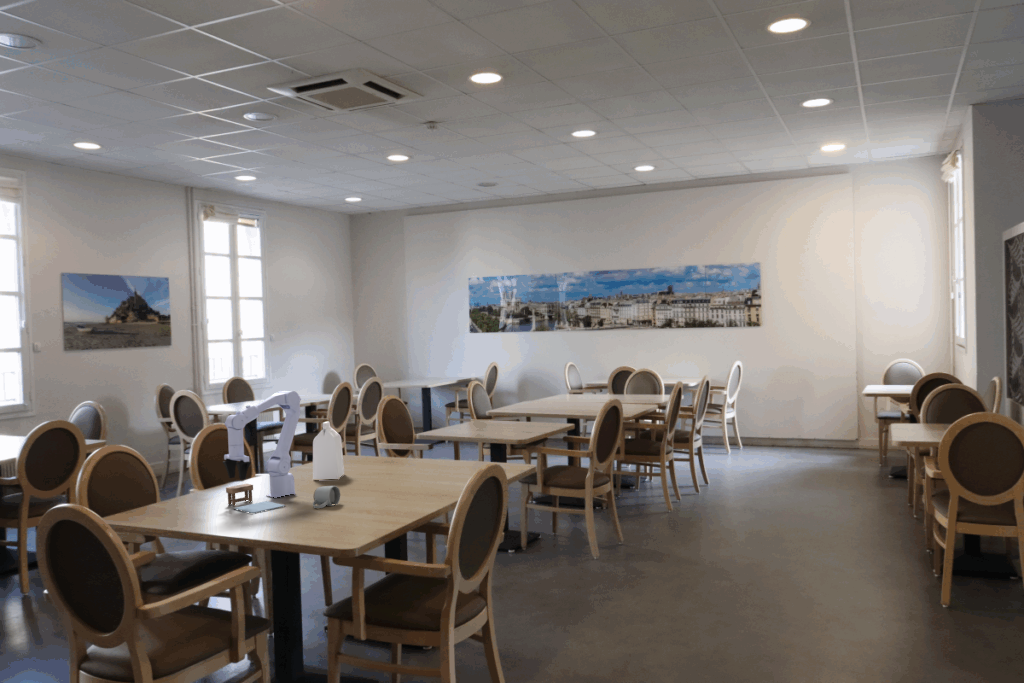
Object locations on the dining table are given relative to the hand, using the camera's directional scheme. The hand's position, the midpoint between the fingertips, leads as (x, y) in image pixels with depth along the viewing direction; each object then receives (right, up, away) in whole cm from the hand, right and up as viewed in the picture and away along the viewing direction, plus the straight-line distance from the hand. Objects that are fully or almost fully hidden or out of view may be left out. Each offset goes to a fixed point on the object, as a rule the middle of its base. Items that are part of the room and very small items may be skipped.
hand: (237, 478), depth 306 cm
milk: (+25, -9, +51) cm, 57 cm away
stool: (0, -11, +2) cm, 11 cm away
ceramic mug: (+38, -9, -9) cm, 40 cm away
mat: (+11, -10, -8) cm, 17 cm away
